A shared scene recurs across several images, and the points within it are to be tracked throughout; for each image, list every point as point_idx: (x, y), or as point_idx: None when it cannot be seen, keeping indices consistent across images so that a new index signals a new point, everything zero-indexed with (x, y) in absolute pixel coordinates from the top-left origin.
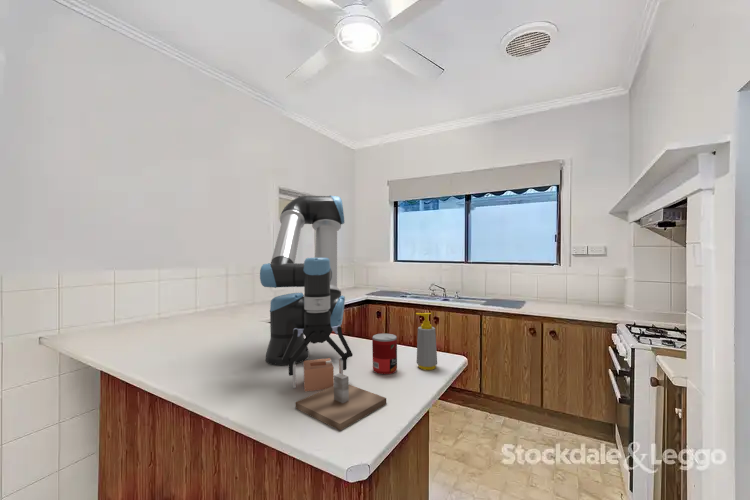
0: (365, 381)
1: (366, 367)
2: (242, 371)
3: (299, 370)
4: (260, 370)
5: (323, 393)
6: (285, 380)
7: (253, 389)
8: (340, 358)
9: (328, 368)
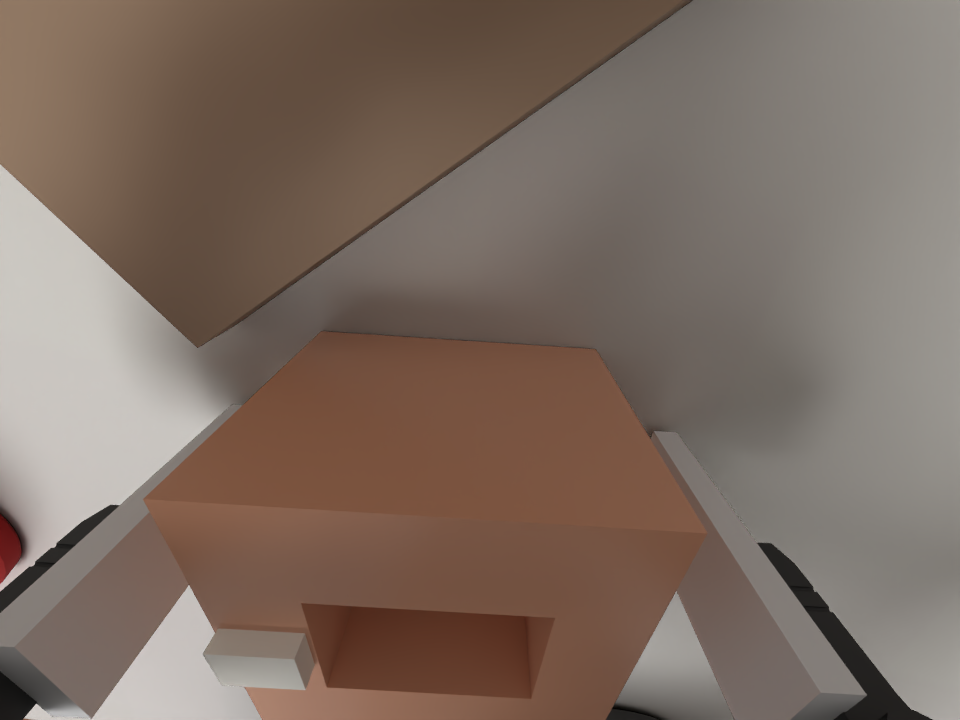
0: (27, 378)
1: None
2: None
3: None
4: None
5: (431, 50)
6: None
7: (939, 507)
8: (54, 699)
9: (255, 490)
